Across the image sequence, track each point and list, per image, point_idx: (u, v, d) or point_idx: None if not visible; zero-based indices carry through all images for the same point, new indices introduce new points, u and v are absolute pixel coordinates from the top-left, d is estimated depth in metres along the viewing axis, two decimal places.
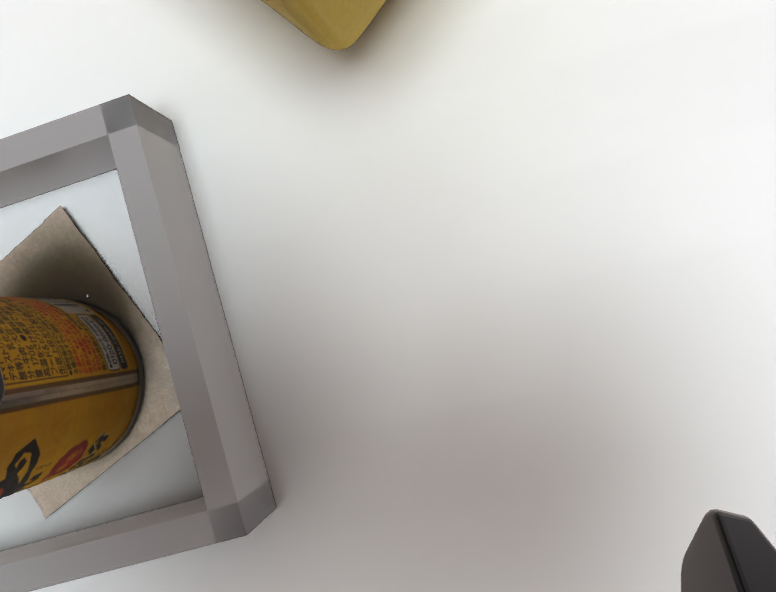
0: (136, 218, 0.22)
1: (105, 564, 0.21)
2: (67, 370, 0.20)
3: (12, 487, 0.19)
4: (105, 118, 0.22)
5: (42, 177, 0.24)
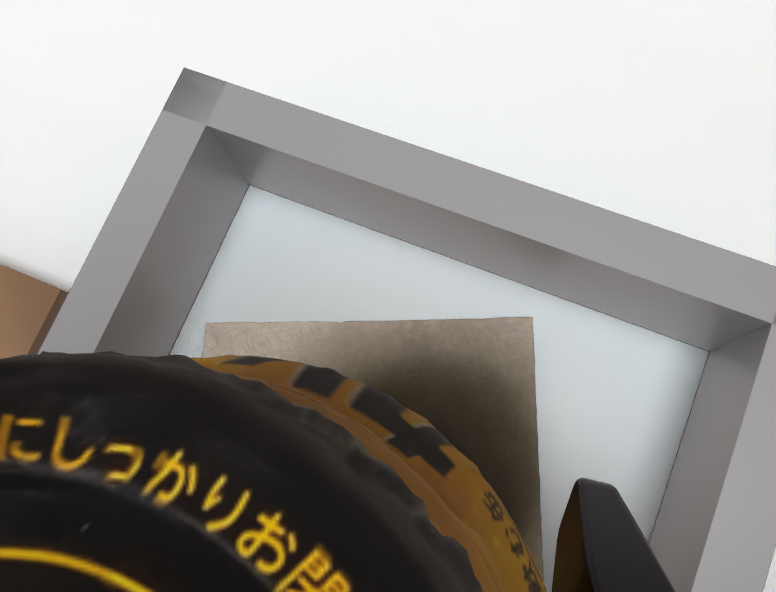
0: (737, 487, 0.11)
1: None
2: None
3: None
4: None
5: (563, 278, 0.14)
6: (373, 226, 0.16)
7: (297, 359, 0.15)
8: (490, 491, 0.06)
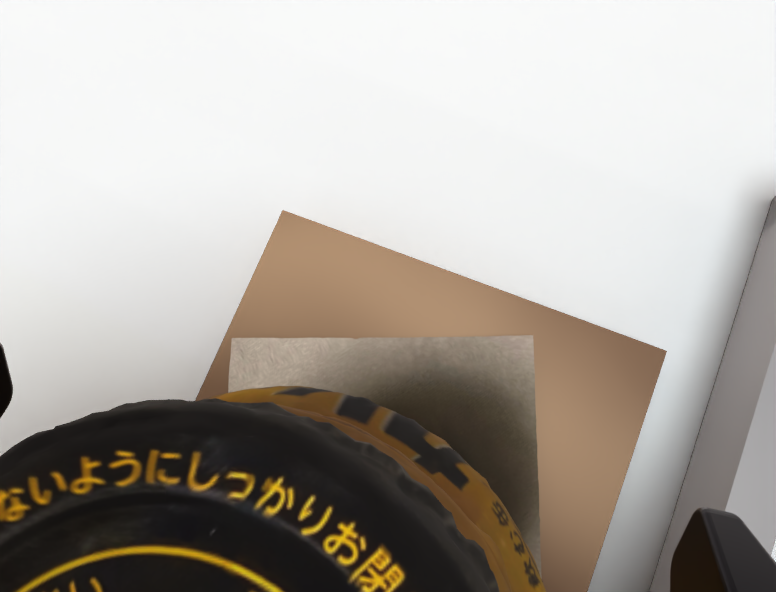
0: None
1: None
2: None
3: None
4: None
5: None
6: None
7: (316, 373, 0.17)
8: (497, 501, 0.07)
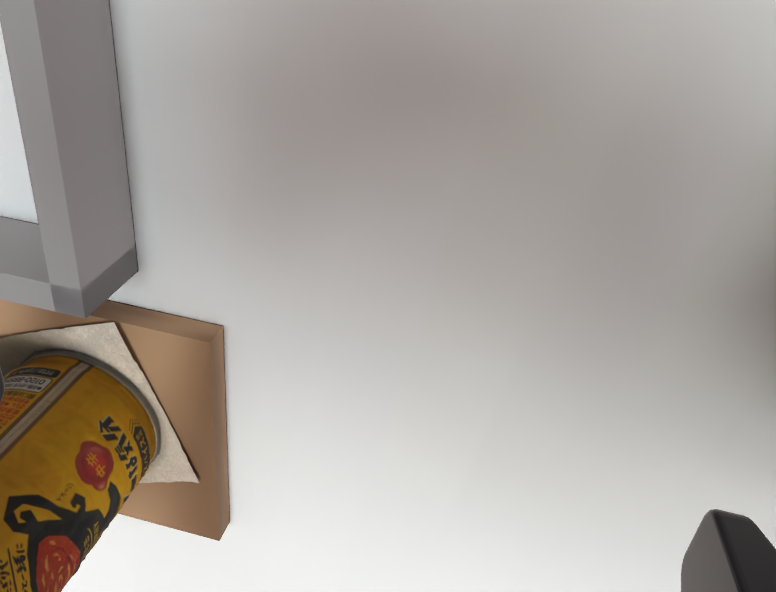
0: None
1: (29, 24, 0.16)
2: None
3: (62, 525, 0.21)
4: None
5: None
6: None
7: None
8: None
